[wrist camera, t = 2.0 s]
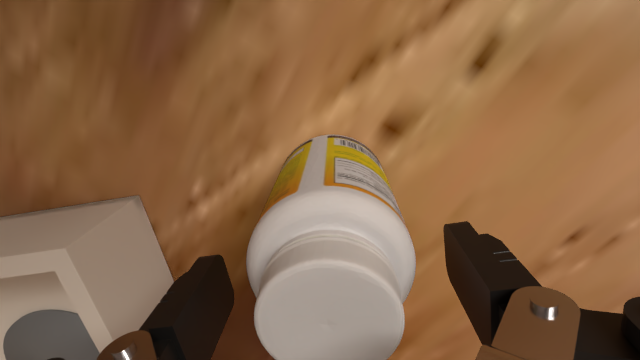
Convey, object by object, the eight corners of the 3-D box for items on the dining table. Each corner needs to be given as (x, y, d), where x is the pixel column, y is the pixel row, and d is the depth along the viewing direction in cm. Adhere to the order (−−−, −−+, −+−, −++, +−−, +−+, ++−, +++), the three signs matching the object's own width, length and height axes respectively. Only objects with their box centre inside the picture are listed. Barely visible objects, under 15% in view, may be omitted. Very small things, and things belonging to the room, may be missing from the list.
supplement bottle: (290, 231, 19) (244, 405, 10) (273, 138, 17) (195, 242, 8) (387, 222, 19) (438, 397, 9) (381, 125, 17) (437, 221, 7)
